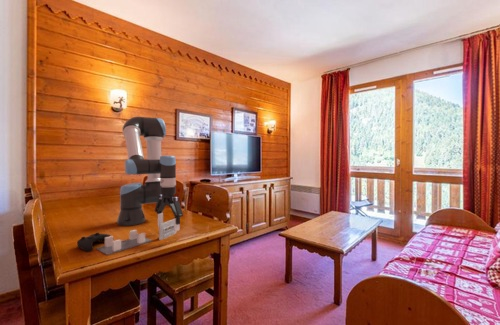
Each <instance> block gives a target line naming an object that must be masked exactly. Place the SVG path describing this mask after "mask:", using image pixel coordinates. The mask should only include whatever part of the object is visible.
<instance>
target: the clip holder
mask: <svg viewBox="0 0 500 325" xmlns="http://www.w3.org/2000/svg"><path fill="white" fill-rule="evenodd" d="M128 234H129V235H128V236H129V237H128V239H124V240H122V239H120V238H119V239H114V240H113V238H114V236H113V235H111V236H109V237H105V242H104V246H103V245H102V246H100V247H97V248H96V250H97V251H99V252H100V253H102V254H104V255H106V256H109V255H113V254H116V253H119V252H122V251H125V250H129V249H131V248H134V247H138V246H141V245H143V244H144V245H145V244H147V243H150V242H152V241H153V240H152V239H150V238H147V237H146V232H141V233H138V230H137V229H133V230H129V233H128Z"/></svg>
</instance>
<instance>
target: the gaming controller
mask: <svg viewBox="0 0 500 325" xmlns="http://www.w3.org/2000/svg"><path fill="white" fill-rule="evenodd" d="M109 236H112V234H108V233H100V232H95V233H94V234H93V233H92V234H90V235H88V236H82V237H81V238H80V239H78V240H77V242H76V244H77V249H81V250H83V251H85V252H88V253H89V252H92V251H93V250H94V246H93V243H97V242H104V243H105V237H109ZM114 240H115V239H114V237H113V241H114Z"/></svg>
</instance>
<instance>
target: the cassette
mask: <svg viewBox="0 0 500 325" xmlns="http://www.w3.org/2000/svg"><path fill="white" fill-rule="evenodd" d="M177 232H178V231H174V218H173V219H170V220H167V221H163V223H161V224H159V227H158V239H159V241H162V240H164V239H167V238H169V237H171V236H174V235H175V234H177Z"/></svg>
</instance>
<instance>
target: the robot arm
mask: <svg viewBox="0 0 500 325" xmlns="http://www.w3.org/2000/svg"><path fill="white" fill-rule="evenodd" d="M165 123H166V122H165V121H164V119H162V118H159V117H147V116H146V117H145V116H134V117H131V118H129V119H128V120H127V121H126V122H125V123H124V124H123V127H122V135H123V136H124V137H125V138H124V139H125V145H126V152H127V159H125V161H124V171H125V172H124V173H125V174H126V175H147V178H146V180H145V181H144V184H143V183H142V182H131V183H127V184H124V185H122V186H120V190H119V195H120V196H119V198H120V200H119V202H120V203H119V204H120V207H119V208H120V210H119V214H118V217H117V219H116V220H117V221H116V225H118V226H121V227H123V226H126V227H129V226H130V227H131V226H136V225H141V224H143V223H145V222H146V217H145V213H144V211H143V205H144V204H145V205H147V204H155V207H154V212H155V213H156V214H157V227H158V228H159V224H161V223H164V213H163V212H164V210H165V208H166V206H168V207H170V210H171V211H172V213H173V214H172V215H173V216H174V218H173V219H174V231H177V232H178V231H180V230H181V229H180V228H181V225H180V224H181V217H184V213H183V211H182V210H183V209H182V206H181V204H180V197H179V196H175V194H177V187H176V186H177V178H176V177H177V176H176V174H177V172H176V171H177V170H176V169H177V168H176V166H177V159H176V156H175V155H162V141H163V140H164V137H166V135H167V128H166V127H167V126H166V124H165ZM140 136H142V137H143V139H144V140H145V142H146V158H145V157H144V151H143V150H144V149H143V146H142V142H141V141H142V140H141V137H140Z"/></svg>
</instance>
